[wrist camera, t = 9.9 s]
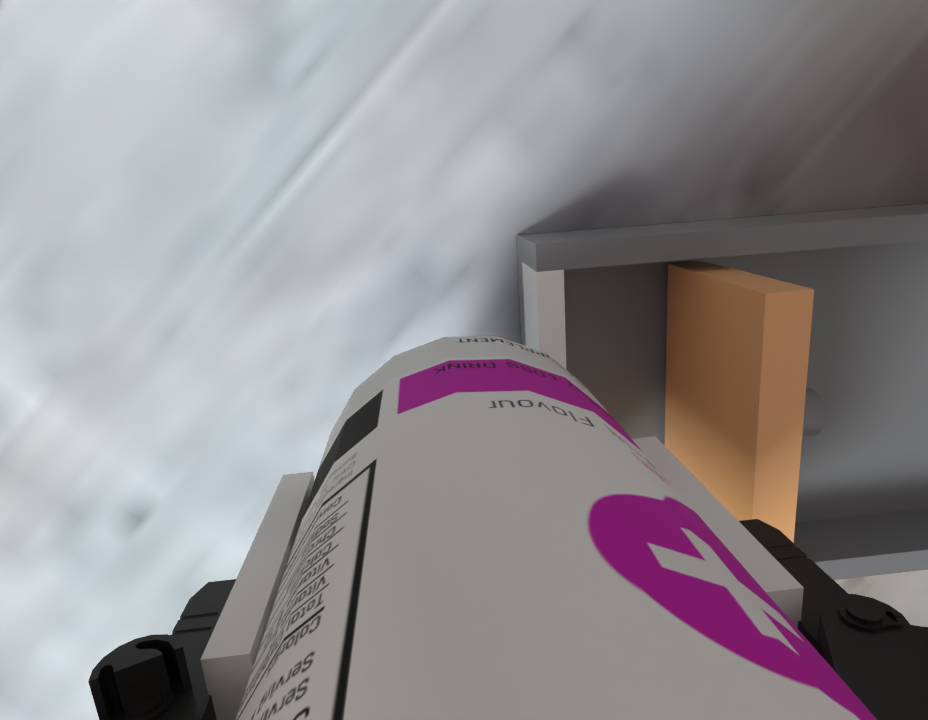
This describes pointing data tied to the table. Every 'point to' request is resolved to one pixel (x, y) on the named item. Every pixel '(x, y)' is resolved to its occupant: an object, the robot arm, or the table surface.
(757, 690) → the supplement can
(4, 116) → the table surface
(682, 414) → the pusher
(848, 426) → the pusher lane
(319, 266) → the table surface
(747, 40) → the table surface
